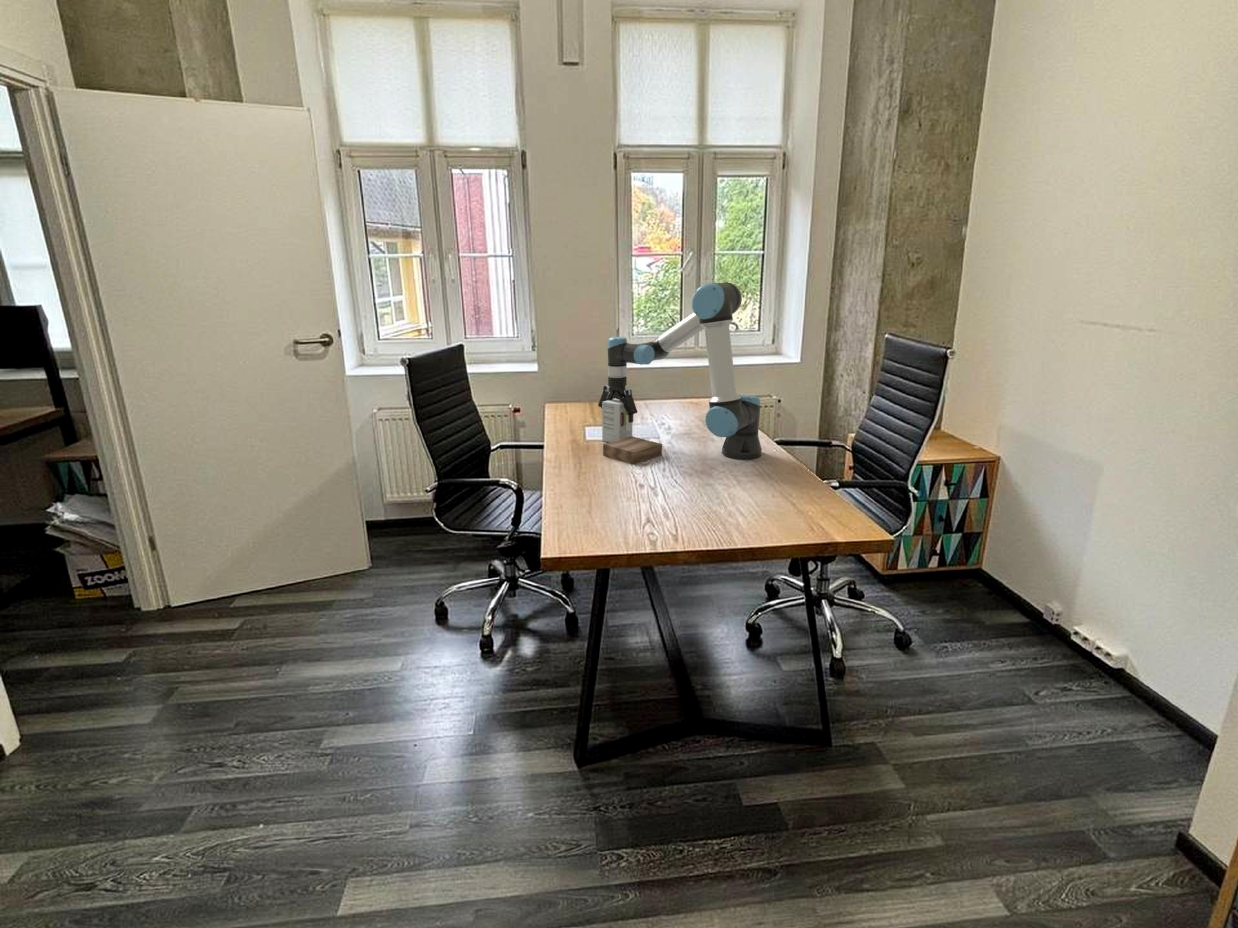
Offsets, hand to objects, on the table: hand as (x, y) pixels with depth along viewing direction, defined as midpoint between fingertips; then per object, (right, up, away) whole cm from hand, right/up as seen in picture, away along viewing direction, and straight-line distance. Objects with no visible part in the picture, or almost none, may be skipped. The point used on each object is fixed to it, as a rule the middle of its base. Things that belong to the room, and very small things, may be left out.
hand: (617, 427), depth 266 cm
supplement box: (0, -6, +2) cm, 6 cm away
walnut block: (+6, -12, -18) cm, 23 cm away
